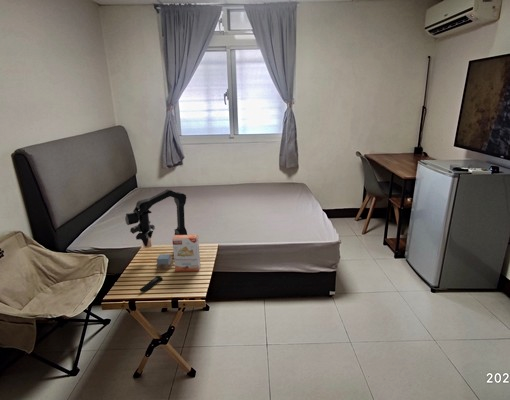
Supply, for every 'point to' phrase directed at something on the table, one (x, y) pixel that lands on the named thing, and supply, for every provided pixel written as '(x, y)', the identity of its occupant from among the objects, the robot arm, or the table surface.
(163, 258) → the tower middle
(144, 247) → the terracotta cylinder
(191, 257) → the cracker box
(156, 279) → the electric trimmer
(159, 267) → the tower base
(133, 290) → the table surface
